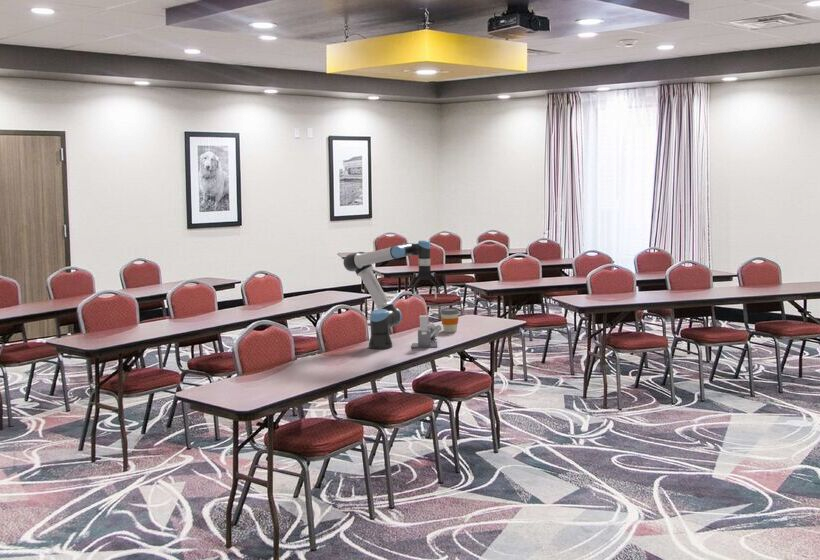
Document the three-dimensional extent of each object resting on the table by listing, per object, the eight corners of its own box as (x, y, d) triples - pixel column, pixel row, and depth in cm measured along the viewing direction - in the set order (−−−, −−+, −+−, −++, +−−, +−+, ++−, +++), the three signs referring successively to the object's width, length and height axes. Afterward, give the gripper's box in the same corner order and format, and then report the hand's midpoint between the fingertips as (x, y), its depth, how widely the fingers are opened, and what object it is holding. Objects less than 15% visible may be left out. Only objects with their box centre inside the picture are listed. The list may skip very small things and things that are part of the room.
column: (420, 345, 548) (419, 316, 546) (420, 343, 553) (419, 315, 551) (428, 344, 548) (427, 316, 545) (428, 343, 553) (427, 315, 550)
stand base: (411, 348, 544) (411, 332, 543) (412, 344, 556) (411, 329, 555) (437, 347, 544) (436, 331, 543) (437, 343, 556) (436, 328, 555)
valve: (432, 336, 581) (446, 331, 569) (417, 352, 569) (432, 347, 558) (423, 324, 579) (438, 319, 567) (408, 339, 567) (423, 334, 556)
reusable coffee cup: (438, 330, 605) (438, 308, 603) (455, 328, 608) (455, 307, 607) (444, 333, 593) (443, 311, 591) (461, 331, 596) (461, 310, 594)
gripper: (405, 266, 541) (405, 300, 544) (445, 265, 543) (445, 299, 545) (404, 265, 548) (404, 298, 551) (443, 264, 550) (444, 297, 553)
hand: (425, 298), depth 548 cm, fingers open, 13 cm apart
